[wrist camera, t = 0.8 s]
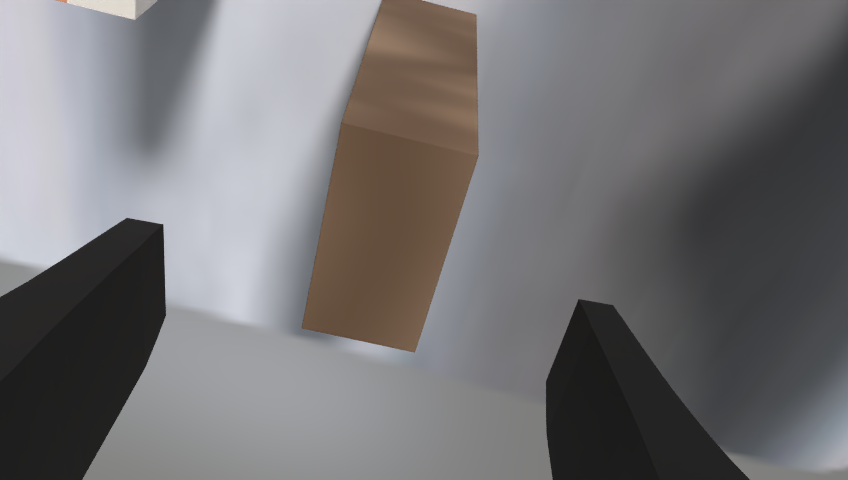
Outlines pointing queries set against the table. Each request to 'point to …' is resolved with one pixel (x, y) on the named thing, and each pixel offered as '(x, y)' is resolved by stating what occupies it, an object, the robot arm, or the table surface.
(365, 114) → the tall wooden plank
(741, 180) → the table surface
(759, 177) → the table surface
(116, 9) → the tile
